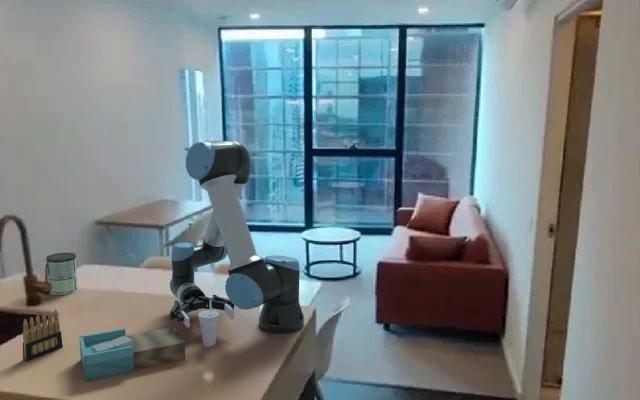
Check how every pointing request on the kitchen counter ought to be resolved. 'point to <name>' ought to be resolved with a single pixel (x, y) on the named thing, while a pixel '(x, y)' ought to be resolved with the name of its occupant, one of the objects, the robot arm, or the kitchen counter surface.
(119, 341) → the chip
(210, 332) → the smoothie
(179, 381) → the kitchen counter surface
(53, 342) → the ammunition clip
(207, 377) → the kitchen counter surface
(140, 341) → the olive-brown boxy piece
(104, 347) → the chip
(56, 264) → the coffee can
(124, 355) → the tray
